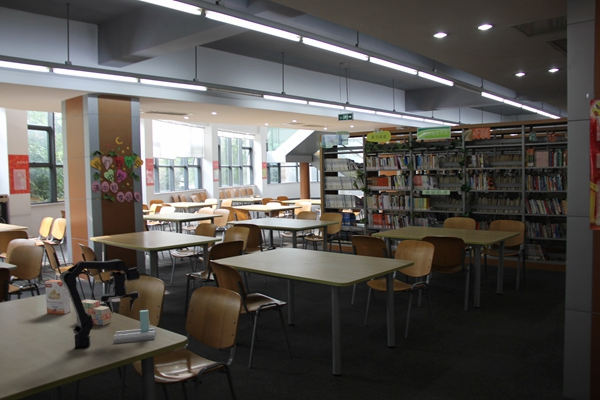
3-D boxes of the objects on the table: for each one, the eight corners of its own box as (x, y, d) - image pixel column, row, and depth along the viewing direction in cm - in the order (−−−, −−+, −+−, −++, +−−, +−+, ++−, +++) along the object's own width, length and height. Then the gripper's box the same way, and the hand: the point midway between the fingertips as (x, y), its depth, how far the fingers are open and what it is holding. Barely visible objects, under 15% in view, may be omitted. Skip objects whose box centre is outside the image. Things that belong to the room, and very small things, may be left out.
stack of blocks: (111, 322, 289) (110, 302, 288) (102, 325, 284) (101, 304, 283) (87, 318, 300) (86, 298, 299) (78, 321, 294) (77, 301, 294)
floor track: (113, 343, 250) (113, 337, 250) (117, 336, 262) (116, 330, 262) (154, 339, 254) (153, 332, 254) (156, 332, 266) (155, 326, 266)
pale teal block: (141, 336, 257) (139, 311, 256) (141, 334, 260) (140, 310, 259) (150, 335, 258) (149, 311, 257) (151, 333, 261) (149, 309, 260)
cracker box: (46, 313, 315) (44, 281, 314) (53, 311, 321) (51, 279, 320) (64, 314, 311) (62, 282, 310) (71, 312, 317) (69, 279, 316)
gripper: (139, 278, 270) (141, 306, 270) (103, 281, 266) (106, 310, 267) (137, 282, 259) (139, 311, 260) (99, 286, 255) (102, 315, 256)
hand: (121, 312), depth 261 cm, fingers open, 9 cm apart
